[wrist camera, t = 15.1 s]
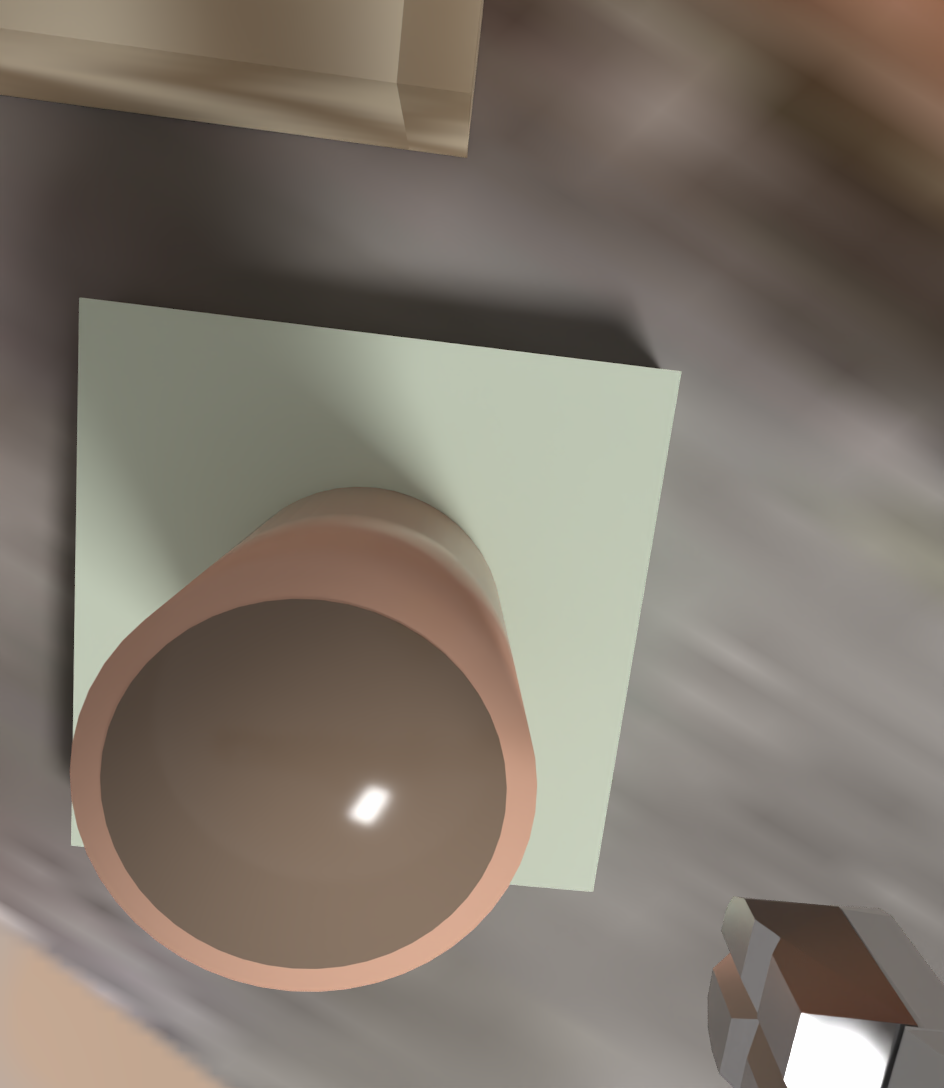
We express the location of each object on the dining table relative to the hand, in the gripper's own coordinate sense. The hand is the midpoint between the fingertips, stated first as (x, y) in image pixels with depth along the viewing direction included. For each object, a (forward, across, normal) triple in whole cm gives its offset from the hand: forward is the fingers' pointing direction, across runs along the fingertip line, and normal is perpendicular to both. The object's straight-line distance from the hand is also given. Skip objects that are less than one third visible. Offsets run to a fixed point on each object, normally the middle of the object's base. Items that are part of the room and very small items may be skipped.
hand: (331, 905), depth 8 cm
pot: (+9, +1, 0) cm, 9 cm away
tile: (+11, +1, 0) cm, 11 cm away
